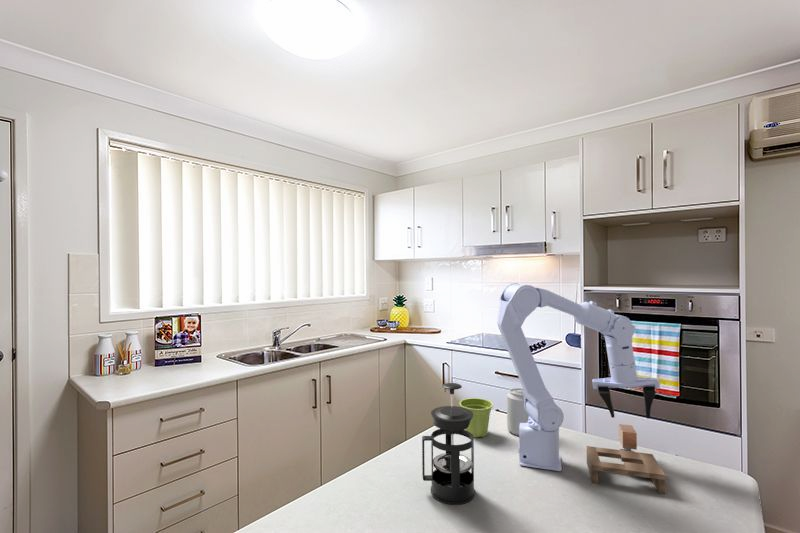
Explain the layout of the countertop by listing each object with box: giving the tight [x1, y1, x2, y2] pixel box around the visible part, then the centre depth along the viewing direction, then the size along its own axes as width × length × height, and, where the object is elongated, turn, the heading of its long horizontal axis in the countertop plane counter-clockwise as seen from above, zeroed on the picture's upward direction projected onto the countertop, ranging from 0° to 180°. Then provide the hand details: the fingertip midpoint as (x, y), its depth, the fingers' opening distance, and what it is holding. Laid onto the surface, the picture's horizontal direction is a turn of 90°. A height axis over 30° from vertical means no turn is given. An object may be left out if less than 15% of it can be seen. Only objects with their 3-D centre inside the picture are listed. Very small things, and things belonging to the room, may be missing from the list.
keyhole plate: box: [586, 445, 666, 495], centre depth 92 cm, size 14×10×4 cm
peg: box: [618, 423, 638, 452], centre depth 101 cm, size 4×5×7 cm
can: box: [506, 387, 529, 437], centre depth 117 cm, size 8×8×12 cm
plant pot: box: [459, 397, 494, 438], centre depth 116 cm, size 9×9×9 cm
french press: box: [421, 382, 476, 506], centre depth 86 cm, size 12×9×23 cm
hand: (630, 416), depth 101 cm, fingers open, 7 cm apart
